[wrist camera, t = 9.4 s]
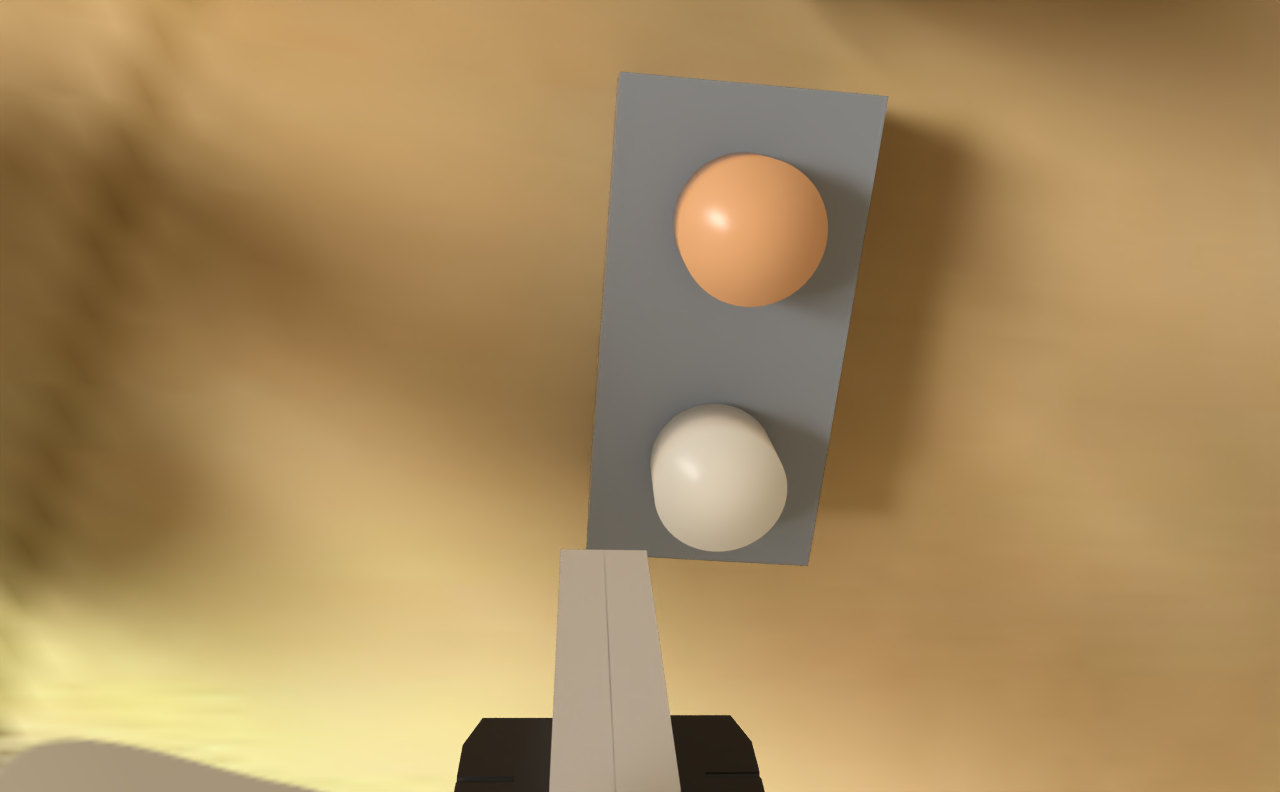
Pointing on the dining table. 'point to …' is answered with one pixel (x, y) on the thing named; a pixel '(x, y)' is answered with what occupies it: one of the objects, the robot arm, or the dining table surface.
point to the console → (709, 328)
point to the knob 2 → (716, 478)
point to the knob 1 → (750, 228)
